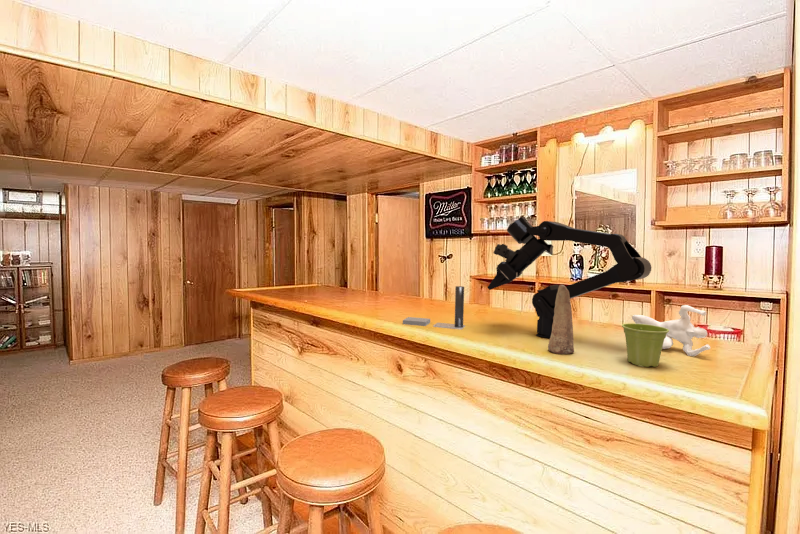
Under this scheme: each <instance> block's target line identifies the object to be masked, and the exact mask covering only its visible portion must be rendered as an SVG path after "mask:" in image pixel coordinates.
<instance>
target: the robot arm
mask: <svg viewBox="0 0 800 534" xmlns="http://www.w3.org/2000/svg"><path fill="white" fill-rule="evenodd" d="M506 232H507V234H508V235H510V236H511V237H512V239H514V241H516V242H517V243H518V245H519V244H523V246H521V247H520V248H519V249H518V248H517V249H516V250H515V251H514V250H513V249H510V248H509V246H508V245H506V244H505V243H497V244H496V246H495V248H494V250H493V252H492V253H493V254H494V255H495V256H500V257H502V258H503V259H505V260H504V261H501V262H500V263H498V264H497V265H496V274H495V276H494V277H493V279H492V280H491V282H490V283H489V284H488V285H487V289H488V290H489V291H490V290H493V289H496V288H498V287H501V286H504V285H506V284H509V283H512V282H513V281H514V280H516V279H517V278H519V277H520V276H521V275H522V274H523V272H524V271H525V270H526V269H527V268H529V266H531V265H532V264H533V263H534V262H535V261H536V260H537V259H538V258H540V257H541V256H542V255H543V254H544V253H545V252H547V253H548V254H549V255H550V256H551V255H553V254H554V253H553V252H554V245H553V244H551V243H549V244H548V243H547V242H548V241H550V242H552V241H553V242H555V241H556V242H557V241H558V242H563V241H567V242H568V241H570V242H575V243H581V244H587V245H593V246H594V245H595V246H600V247H604V248H608V250H610V252H611V254H612V256H613V259H614V261H615V262H616V264H614V265H612V266H611V267H610V268H608V269H607V270H605V271H603V272H601V273H598V274H596V275H593V276H590V277H587V278H585V279H582V280H579V281H576V282H574V283H571V284H568V285H566V286H565V287H566V288H567V289H568V291H569V295H570V300H571V299H574V298H577V297H579V296H582V295H585V294H588V293H591V292H594V291H597V290H600V289H602V288H605V287H608V286H611V285H613V284H614V285H615V284H618V283H623V282H624V283H625V282H630V281H637V280H641V279H645V278H647V277H649V276H650V274H651V271H652V264H651V262H650V261H649V260H648V259H647V258H645V257H642V256H641V254H640V253H639V252H638V251H637V249H636V248H635V247H633V245H632V244H631V243H630V242H629V241H628V239H627V238H626V236H625V235H623V234H620V233H608V232H602V231H601V232H600V231H593V230H588V229H581V228H575V227H573V226H569V225H567V224H564V223H561V222H558V221H552V220H551V221H550V220H544V221H541V222H540V223H539V225H536V226H533V225H532V224H531V223H530V222H529V221H528V219H527V218H526V217H525V216H520V217H519V218H518V219H516V220H514V221H513V222H512V223H510V224H508V227H507V228H506ZM536 236H537V237H536ZM538 237H539V238H538ZM546 241H547V242H546ZM558 288H559V284H553V285H548V286H546V287H545V288H543V289H537V290H536V293H534V294H533V296H532V298H531V304H532V306H533V308H534V309H535V313H536V316H537V317H538V319H537V322H536V335H535V336H536V337H541V338H546V339H550V337H551V333H552V325H553V317H554V309H555V301H556V296H557V292H558Z"/></svg>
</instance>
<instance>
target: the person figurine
mask: <svg viewBox="0 0 800 534" xmlns="http://www.w3.org/2000/svg"><path fill="white" fill-rule="evenodd" d="M688 312H691V313H697V314H698V315H701V316H704V317H705V316H706V315H708V314H707V311H706V310H702V309H697V308H695V307H693V306H691V305H688V304H684V305H681V306H680V309H679V311H678V314H679V316H680V318H678V319H670V320H666V321H657V320H656V319H654V318H652V317H650V316H647V315H643V314H633V315H632V316H631V320H632V321H633V322H634V324H647V325H654V326H659V327H663V328H666V329H668V330H669V332H668V333H667V334H666V338H665V339H664V342H663V347H662V350H666V349H671V347H673V345H674V341H673V339H674V340H675V341H677V342H679V343H681V345H683V346H682V350H683V352H685V353H686V355H687V356H688V357H696V356H698V355H699V354H700V353H702V352H705V351H707V350H708V351H709V350H711V346H710V344H705V345H703V346H701V347H700V348H699V347H698V348H696V349H693V346H694V344H693V343H694V342H693V340H692V339H694V338H697V339H703V338H707V336H708V330H706V329H705V328H702V327H700V326H695V325H694V324H693V323H692V322H691V320H692V318H691V316H690V315H689V313H688Z"/></svg>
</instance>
